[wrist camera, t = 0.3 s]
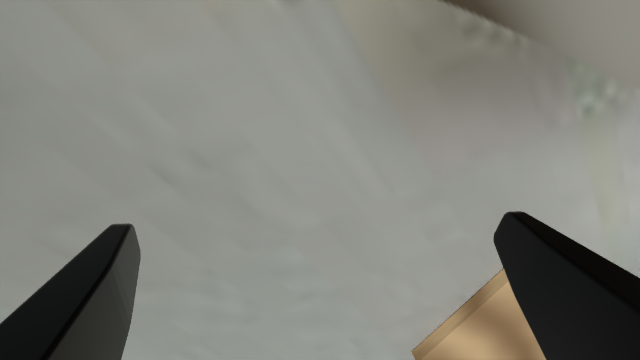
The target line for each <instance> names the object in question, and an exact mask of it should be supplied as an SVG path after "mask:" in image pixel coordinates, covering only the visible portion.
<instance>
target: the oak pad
mask: <svg viewBox="0 0 640 360" xmlns="http://www.w3.org/2000/svg"><path fill="white" fill-rule="evenodd" d="M412 354H413V356H414V358H415V360H546V359H545V357H544V355H543V353H542V351H541V349H540V347H539V345H538V343H537V341H536V338H535V336H534V334H533V332H532V330H531V328H530V326H529V324H528V322H527V320H526V318H525V316H524V314H523V312H522V310H521V308H520V306H519V304H518V302H517V300H516V298H515V296H514V294H513V291H512V289H511V286H510V284H509V281H508V278H507V276H506V273H505V270H504V268H503V269H502V270H501V271H500V272H499V273H498V274H497V275H496V276H495V277H494V278H492V279H491V280H490V281H489V282H488V283H487V284H486V285H485V286H484V287H483V288H481V289H480V290H479V291H478V292H477V293H476V294H475V295H474V296H473V297H472V298H470V299H469V300H468V301H467V302H466V303H465V304H464V305H463V306H462V307H461V308H459V309H458V310H457V311H456V312H455V313H454V314H453V315H452V316H451V317H449V318H448V319H447V320H446V321H445V322H444V323H443V324H442V325H441V326H440V327H438V328H437V329H436V330H435V331H434V332H433V333H432V334H431V335H430V336H429V337H427V338H426V339H425V340H424V341H423V342H422V343H421V344H420V345H419V346H418V347H416V348H415V349H414V350H413V351H412Z"/></svg>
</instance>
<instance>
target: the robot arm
mask: <svg viewBox="0 0 640 360" xmlns="http://www.w3.org/2000/svg"><path fill="white" fill-rule="evenodd" d="M494 244H495V247H496V249H497V252H498V255H499V257H500V260H501V263H502V265H503V268H504V270H505V273H506V276H507V278H508V281H509V284H510V286H511V289H512V291H513V294H514V296H515V298H516V300H517V302H518V304H519V306H520V308H521V310H522V312H523V314H524V316H525V318H526V320H527V322H528V324H529V326H530V328H531V330H532V332H533V334H534V336H535V338H536V341H537V343H538V345H539V347H540V349H541V351H542V353H543V355H544V357H545V359H546V360H640V278H638V277H637V276H635V275H633V274H631V273H630V272H628V271H626V270H624V269H623V268H621V267H619V266H617V265H616V264H614V263H612V262H610V261H609V260H607V259H605V258H603V257H602V256H600V255H598V254H597V253H595V252H593V251H591V250H590V249H588V248H586V247H584V246H583V245H581V244H579V243H577V242H576V241H574V240H572V239H570V238H569V237H567V236H565V235H563V234H562V233H560V232H558V231H556V230H555V229H553V228H551V227H549V226H548V225H546V224H544V223H542V222H541V221H539V220H537V219H535V218H534V217H532V216H530V215H528V214H527V213H525V212H521V211H516V212H507V213H506V214H504V216H503V218H502V220H501V222H500V224H499V226H498V228H497V230H496V231H495V234H494ZM139 265H140V248H139V244H138V240H137V236H136V232H135V228H134V226H133V225H132V224H113V225H111V226H109V227H108V228H107V229H106V230H104V231H103V232H102V233H101V234H100V235H99V236H98V237H97V238H96V239H94V240H93V241H92V242H91V243H90V244H89V245H88V246H87V247H85V248H84V249H83V250H82V251H81V252H80V253H79V254H78V255H77V256H75V257H74V258H73V259H72V260H71V261H70V262H69V263H68V264H66V265H65V266H64V267H63V268H62V269H61V270H60V271H59V272H58V273H56V274H55V275H54V276H53V277H52V278H51V279H50V280H49V281H47V282H46V283H45V284H44V285H43V286H42V287H41V288H40V289H38V290H37V291H36V292H35V293H34V294H33V295H32V296H31V297H30V298H28V299H27V300H26V301H25V302H24V303H23V304H22V305H21V306H19V307H18V308H17V309H16V310H15V311H14V312H13V313H12V314H11V315H9V316H8V317H7V318H6V319H5V320H4V321H3V322H2V323H0V360H121V358H122V354H123V350H124V347H125V343H126V340H127V336H128V332H129V328H130V324H131V318H132V312H133V305H134V298H135V292H136V285H137V278H138V272H139Z"/></svg>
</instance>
